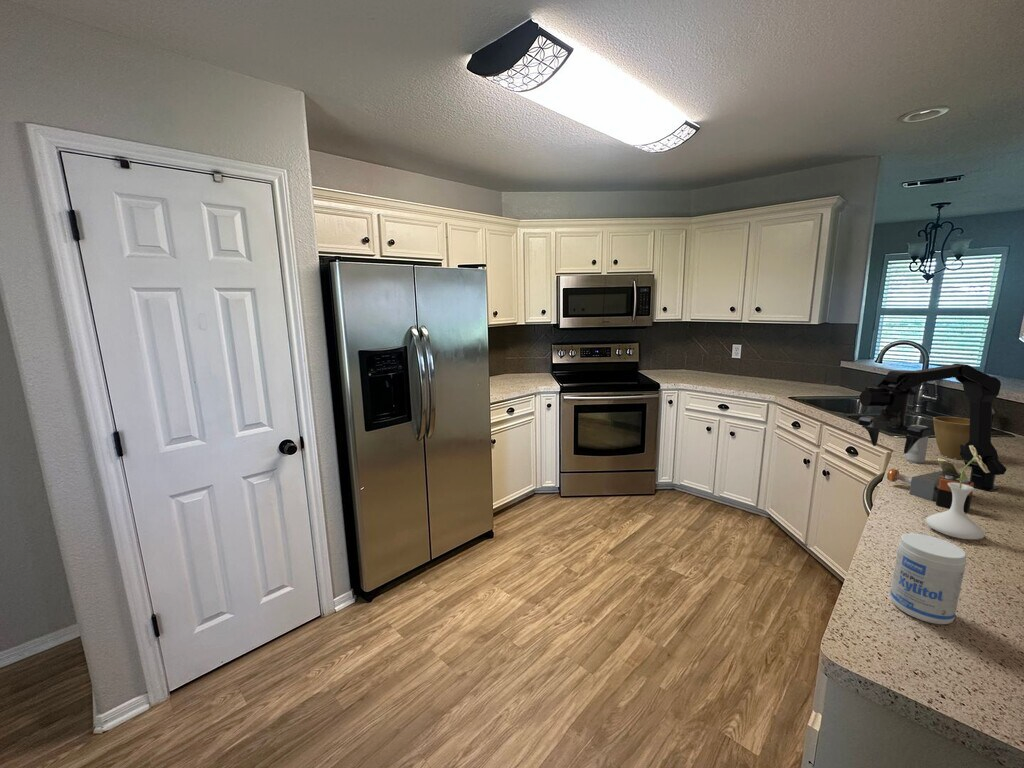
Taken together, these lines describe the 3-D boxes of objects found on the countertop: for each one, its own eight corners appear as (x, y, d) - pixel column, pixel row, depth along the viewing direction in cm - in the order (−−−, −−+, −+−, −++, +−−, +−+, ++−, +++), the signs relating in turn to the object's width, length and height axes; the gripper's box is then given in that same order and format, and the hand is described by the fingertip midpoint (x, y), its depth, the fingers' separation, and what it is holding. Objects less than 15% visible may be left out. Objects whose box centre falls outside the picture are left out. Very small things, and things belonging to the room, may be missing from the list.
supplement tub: (890, 612, 85) (900, 546, 82) (888, 588, 92) (897, 527, 89) (959, 634, 78) (971, 564, 76) (951, 607, 86) (962, 542, 83)
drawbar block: (938, 487, 145) (940, 470, 144) (961, 493, 139) (963, 476, 138) (909, 493, 140) (911, 477, 139) (931, 501, 134) (934, 483, 133)
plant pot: (970, 454, 178) (976, 418, 175) (985, 465, 165) (992, 426, 163) (923, 449, 186) (928, 414, 183) (933, 458, 173) (939, 421, 171)
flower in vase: (974, 548, 107) (991, 456, 103) (916, 528, 117) (930, 444, 113) (992, 535, 113) (1009, 448, 109) (936, 518, 123) (949, 437, 119)
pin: (894, 479, 148) (896, 468, 147) (946, 495, 135) (948, 482, 134) (886, 481, 147) (888, 469, 146) (938, 497, 133) (940, 484, 133)
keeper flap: (943, 472, 143) (944, 469, 143) (960, 476, 139) (961, 474, 139) (936, 460, 141) (937, 457, 141) (953, 464, 137) (955, 461, 137)
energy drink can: (928, 463, 167) (934, 428, 165) (913, 463, 167) (919, 428, 165) (914, 458, 173) (919, 424, 171) (900, 458, 173) (905, 424, 171)
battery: (966, 513, 126) (971, 482, 124) (935, 505, 131) (940, 475, 130) (969, 509, 128) (975, 479, 126) (938, 502, 133) (943, 472, 132)
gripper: (851, 403, 150) (845, 444, 152) (915, 414, 132) (908, 460, 135) (870, 401, 154) (864, 441, 156) (935, 411, 136) (928, 456, 139)
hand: (889, 449), depth 146 cm, fingers open, 9 cm apart
